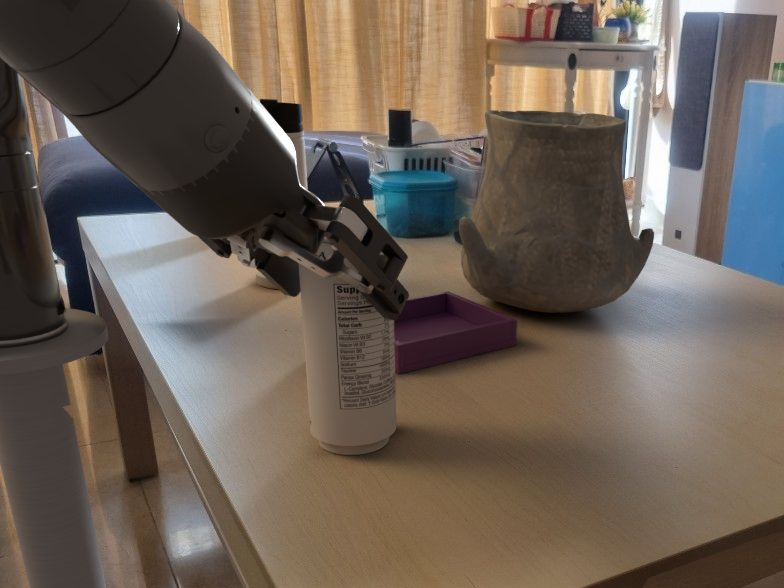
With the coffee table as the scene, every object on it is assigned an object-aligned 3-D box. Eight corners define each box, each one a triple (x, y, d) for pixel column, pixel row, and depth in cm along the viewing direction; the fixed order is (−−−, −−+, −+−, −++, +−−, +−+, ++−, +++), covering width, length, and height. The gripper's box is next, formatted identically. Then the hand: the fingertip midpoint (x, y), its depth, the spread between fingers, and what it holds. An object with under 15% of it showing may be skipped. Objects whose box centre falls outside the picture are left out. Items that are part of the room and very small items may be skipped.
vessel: (604, 272, 107) (617, 107, 99) (669, 327, 87) (692, 127, 79) (434, 275, 102) (434, 101, 94) (463, 334, 82) (466, 121, 74)
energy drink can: (367, 414, 64) (359, 218, 58) (413, 442, 60) (410, 234, 54) (295, 435, 60) (279, 227, 54) (339, 467, 56) (326, 246, 50)
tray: (398, 374, 72) (398, 345, 71) (334, 338, 79) (333, 311, 78) (516, 345, 80) (517, 319, 79) (448, 315, 88) (448, 291, 86)
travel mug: (253, 291, 92) (235, 98, 84) (259, 275, 98) (243, 93, 90) (312, 290, 93) (300, 100, 85) (314, 274, 99) (303, 96, 91)
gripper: (325, 78, 40) (458, 266, 54) (127, 61, 46) (292, 234, 60) (250, 205, 38) (409, 367, 52) (53, 170, 44) (242, 323, 58)
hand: (346, 296), depth 56 cm, fingers open, 8 cm apart
